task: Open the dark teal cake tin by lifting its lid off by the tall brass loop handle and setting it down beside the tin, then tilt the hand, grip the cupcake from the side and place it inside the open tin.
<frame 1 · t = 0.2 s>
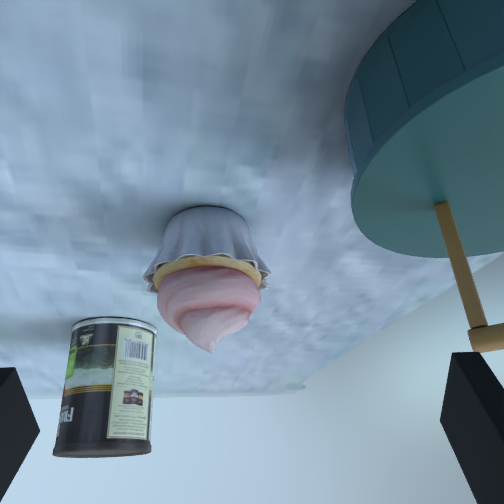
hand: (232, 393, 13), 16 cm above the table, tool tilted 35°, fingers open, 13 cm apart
tin: (480, 91, 24), on the table
cupcake: (208, 225, 35), on the table
coffee can: (116, 329, 55), on the table
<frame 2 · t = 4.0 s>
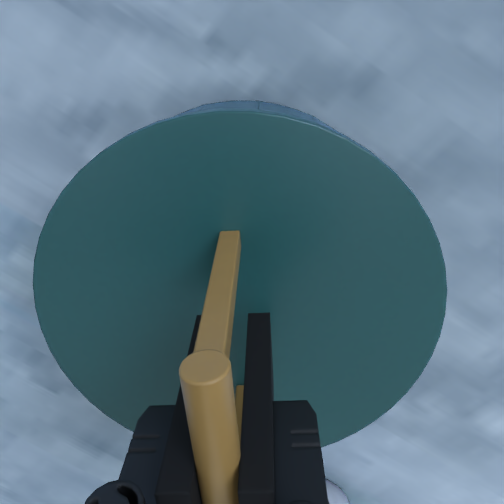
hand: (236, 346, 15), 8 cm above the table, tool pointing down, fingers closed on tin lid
tin lid: (239, 313, 17), point 5 cm above the table, touching gripper, tin
tin: (244, 250, 22), on the table
cupcake: (303, 499, 31), on the table
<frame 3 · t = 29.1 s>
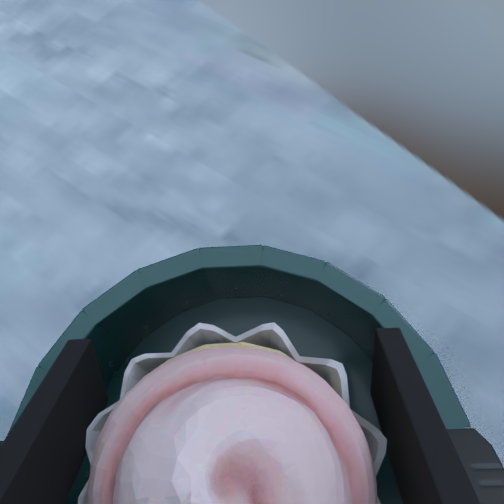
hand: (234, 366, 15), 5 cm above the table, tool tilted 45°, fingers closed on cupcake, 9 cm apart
tin: (246, 451, 19), on the table
cupcake: (245, 455, 18), point 1 cm above the table, touching gripper
when the fingers open (6 cm above the table, at t = 35.4 s): cupcake stays where it is, resting on tin.
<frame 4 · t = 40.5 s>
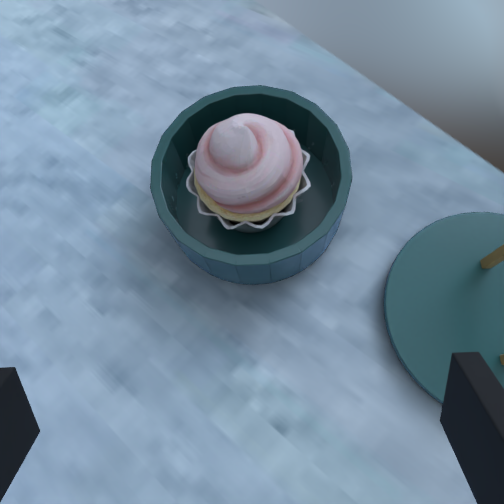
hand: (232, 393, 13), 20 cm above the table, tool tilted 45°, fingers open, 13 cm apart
tin lid: (491, 311, 32), point 1 cm above the table
tin: (254, 200, 37), on the table
cupcake: (252, 199, 37), resting on tin
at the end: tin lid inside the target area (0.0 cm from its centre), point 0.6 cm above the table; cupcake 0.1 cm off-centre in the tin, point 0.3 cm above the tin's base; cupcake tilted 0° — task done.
